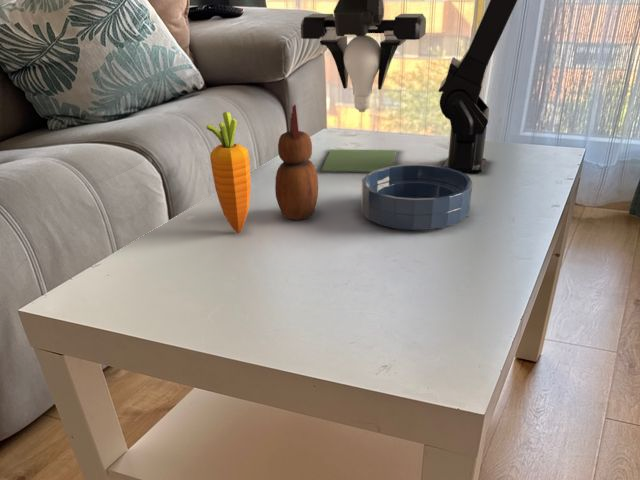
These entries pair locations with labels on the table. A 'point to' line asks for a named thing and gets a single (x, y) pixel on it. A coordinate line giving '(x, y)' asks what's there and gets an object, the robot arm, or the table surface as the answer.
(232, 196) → the carrot
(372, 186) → the bowl
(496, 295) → the table surface
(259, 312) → the table surface
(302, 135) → the wooden figurine
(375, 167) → the napkin
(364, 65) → the lightbulb
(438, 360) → the table surface
